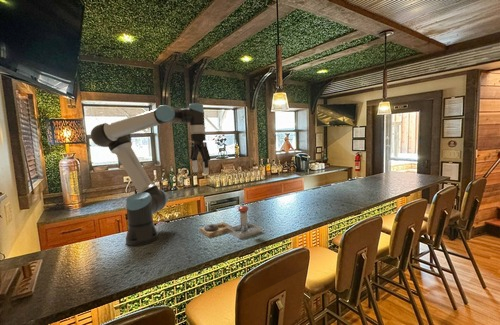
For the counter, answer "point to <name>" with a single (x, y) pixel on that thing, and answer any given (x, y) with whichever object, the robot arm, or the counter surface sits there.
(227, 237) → the counter surface
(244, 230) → the lock pin
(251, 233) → the tray
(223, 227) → the tensioner block
